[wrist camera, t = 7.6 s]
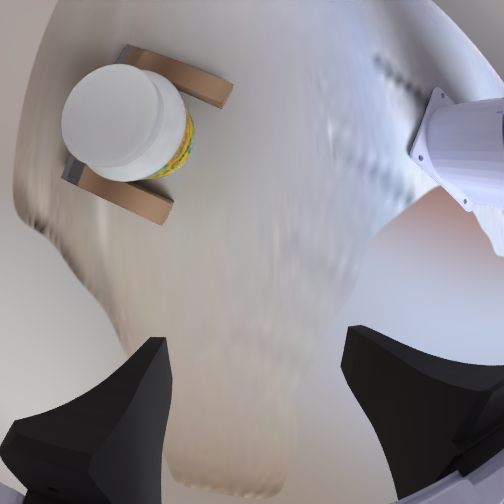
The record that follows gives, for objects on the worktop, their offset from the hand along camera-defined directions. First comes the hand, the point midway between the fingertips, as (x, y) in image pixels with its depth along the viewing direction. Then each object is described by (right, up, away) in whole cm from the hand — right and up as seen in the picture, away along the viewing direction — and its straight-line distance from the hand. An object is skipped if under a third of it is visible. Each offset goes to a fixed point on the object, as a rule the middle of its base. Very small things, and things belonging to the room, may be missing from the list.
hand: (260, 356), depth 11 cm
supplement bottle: (-7, +11, +7) cm, 15 cm away
